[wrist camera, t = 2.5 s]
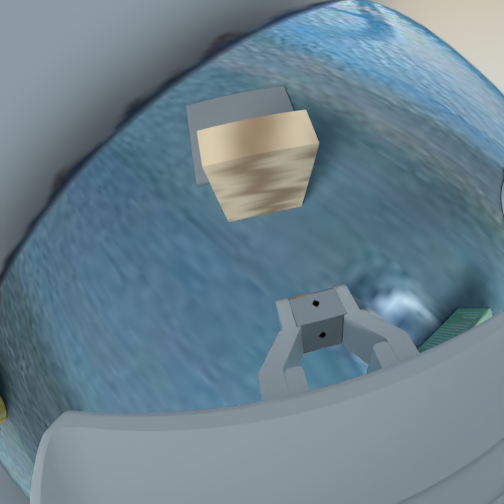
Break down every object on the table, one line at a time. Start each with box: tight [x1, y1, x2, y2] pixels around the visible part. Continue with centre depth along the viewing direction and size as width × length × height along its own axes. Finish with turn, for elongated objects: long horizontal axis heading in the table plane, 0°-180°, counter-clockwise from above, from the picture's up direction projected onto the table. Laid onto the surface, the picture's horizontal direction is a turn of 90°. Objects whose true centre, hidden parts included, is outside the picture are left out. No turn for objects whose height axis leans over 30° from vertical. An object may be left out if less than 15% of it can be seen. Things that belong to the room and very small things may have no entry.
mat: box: [186, 86, 294, 186], centre depth 36 cm, size 15×14×1 cm
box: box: [417, 308, 494, 353], centre depth 25 cm, size 7×14×8 cm, turn 124°
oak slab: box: [197, 110, 319, 222], centre depth 27 cm, size 9×4×14 cm, turn 102°
